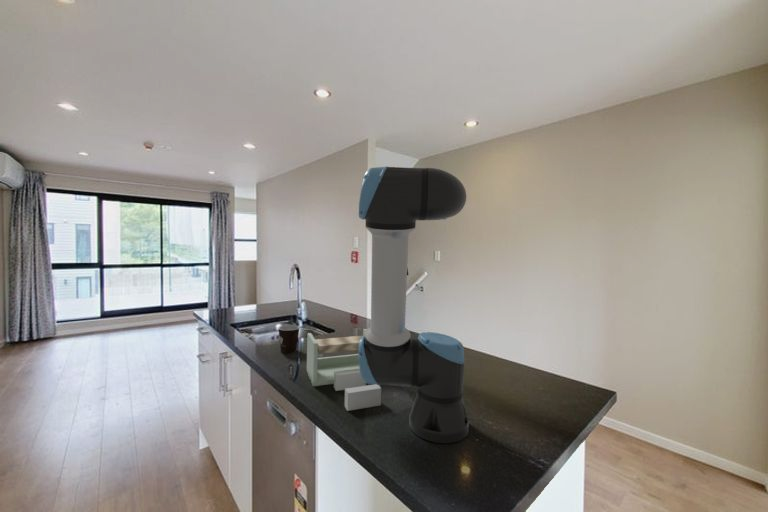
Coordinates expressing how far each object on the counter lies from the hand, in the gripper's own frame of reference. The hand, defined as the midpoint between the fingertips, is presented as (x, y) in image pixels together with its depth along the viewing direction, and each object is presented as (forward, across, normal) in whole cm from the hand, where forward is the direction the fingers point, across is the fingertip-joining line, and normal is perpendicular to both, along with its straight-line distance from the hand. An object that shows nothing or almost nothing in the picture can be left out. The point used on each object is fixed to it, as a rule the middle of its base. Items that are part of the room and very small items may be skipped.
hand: (392, 291), depth 123 cm
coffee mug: (+29, +28, +35) cm, 53 cm away
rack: (+29, -19, +20) cm, 40 cm away
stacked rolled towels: (+19, -2, +20) cm, 28 cm away
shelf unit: (+29, -2, +20) cm, 35 cm away
